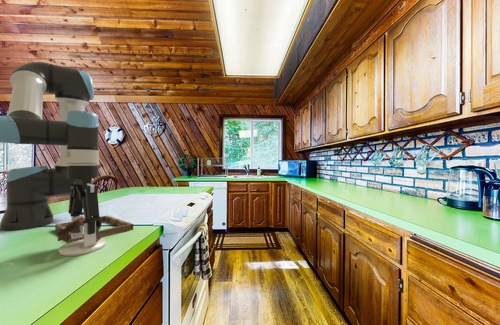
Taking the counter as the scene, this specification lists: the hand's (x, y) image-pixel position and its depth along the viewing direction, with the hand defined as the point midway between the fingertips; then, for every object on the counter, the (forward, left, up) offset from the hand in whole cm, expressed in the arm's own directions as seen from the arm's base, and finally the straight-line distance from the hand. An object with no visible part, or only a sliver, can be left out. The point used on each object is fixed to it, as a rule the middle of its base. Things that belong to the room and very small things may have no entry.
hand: (83, 241), depth 66 cm
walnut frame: (-17, +9, -2) cm, 20 cm away
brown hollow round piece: (0, 0, 0) cm, 1 cm away
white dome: (0, 0, -2) cm, 2 cm away
